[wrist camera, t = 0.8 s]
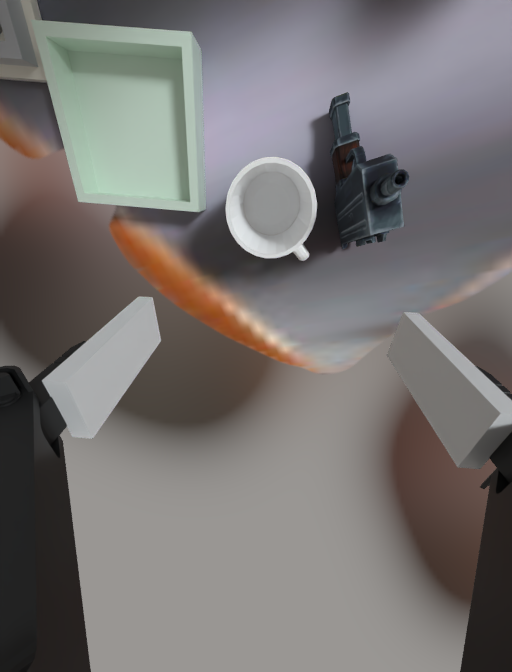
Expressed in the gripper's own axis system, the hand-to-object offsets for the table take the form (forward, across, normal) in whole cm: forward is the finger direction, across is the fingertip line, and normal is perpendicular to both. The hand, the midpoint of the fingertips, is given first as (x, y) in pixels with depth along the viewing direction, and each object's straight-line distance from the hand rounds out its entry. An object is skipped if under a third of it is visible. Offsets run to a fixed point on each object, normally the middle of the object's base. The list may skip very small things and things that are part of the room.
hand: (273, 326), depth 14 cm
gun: (+26, +8, +7) cm, 28 cm away
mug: (+26, 0, +3) cm, 26 cm away
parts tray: (+26, -17, +11) cm, 33 cm away
